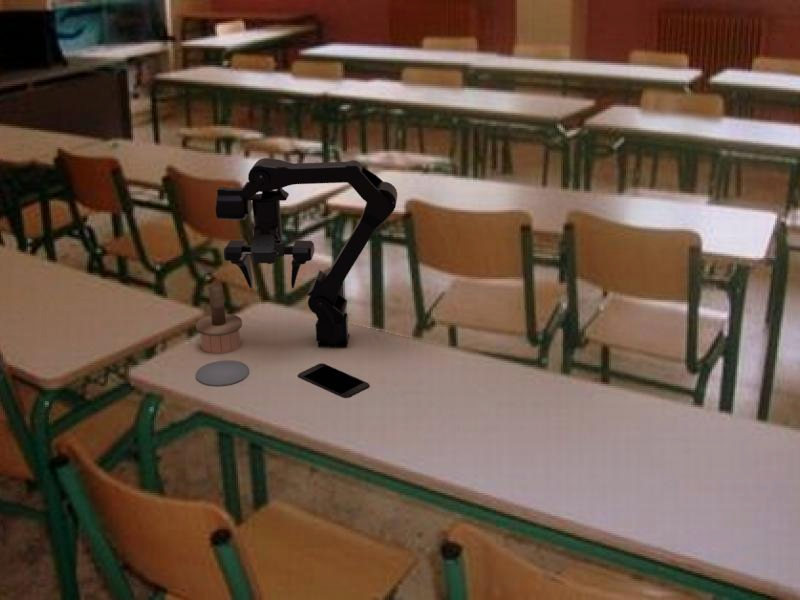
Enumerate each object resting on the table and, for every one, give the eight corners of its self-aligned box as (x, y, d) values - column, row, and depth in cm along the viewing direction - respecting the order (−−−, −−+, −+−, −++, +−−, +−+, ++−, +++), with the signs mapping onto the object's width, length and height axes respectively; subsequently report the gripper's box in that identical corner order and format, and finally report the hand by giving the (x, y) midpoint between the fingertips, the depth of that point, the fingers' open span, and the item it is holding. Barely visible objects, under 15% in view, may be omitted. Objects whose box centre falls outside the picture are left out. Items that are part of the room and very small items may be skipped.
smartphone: (346, 401, 189) (346, 397, 189) (295, 377, 199) (295, 373, 198) (372, 388, 194) (372, 384, 194) (321, 365, 204) (321, 362, 203)
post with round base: (251, 323, 212) (248, 283, 209) (219, 339, 205) (215, 298, 201) (219, 313, 218) (215, 274, 214) (186, 329, 210) (182, 288, 206)
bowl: (243, 336, 217) (241, 318, 215) (235, 353, 209) (234, 334, 207) (206, 336, 217) (204, 318, 215) (197, 352, 209) (195, 334, 207)
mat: (253, 362, 205) (253, 360, 204) (243, 386, 194) (243, 384, 194) (202, 361, 205) (202, 360, 205) (190, 385, 195) (189, 384, 195)
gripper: (215, 231, 196) (221, 301, 202) (305, 231, 195) (309, 302, 201) (226, 214, 206) (232, 282, 212) (312, 214, 205) (316, 282, 211)
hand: (272, 287), depth 209 cm, fingers open, 9 cm apart
